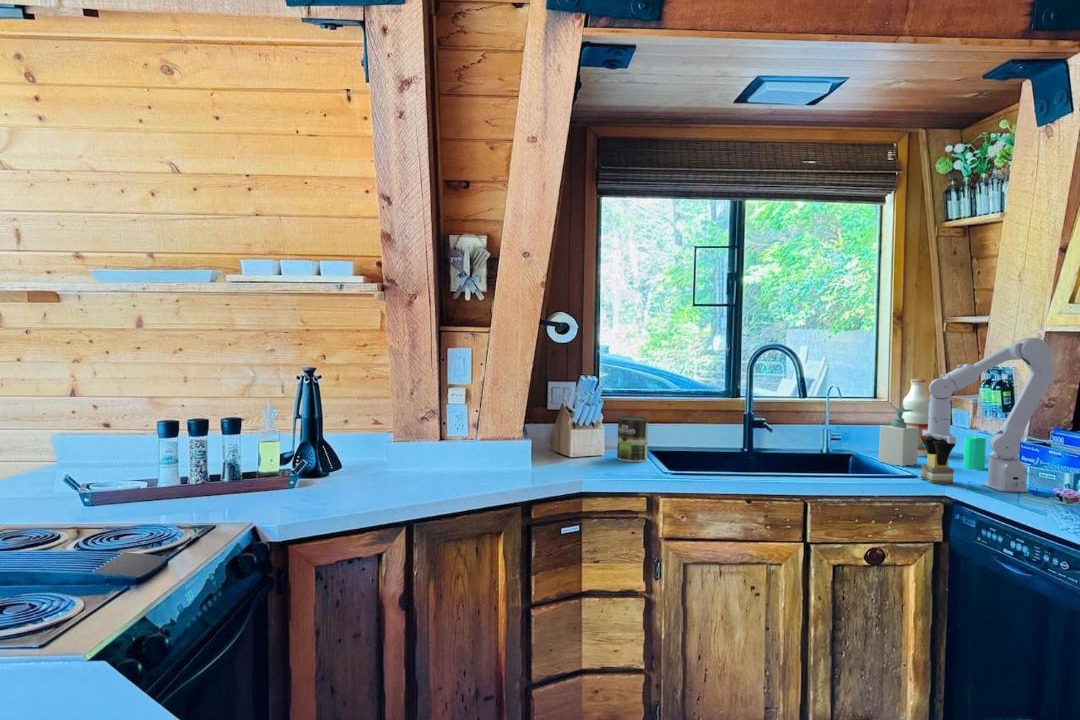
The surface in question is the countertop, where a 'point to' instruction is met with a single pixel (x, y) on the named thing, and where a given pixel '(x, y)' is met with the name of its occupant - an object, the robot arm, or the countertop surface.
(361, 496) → the countertop surface
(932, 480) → the tower base
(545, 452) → the countertop surface
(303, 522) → the countertop surface
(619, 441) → the coffee can
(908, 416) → the fruit juice
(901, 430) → the soap bottle
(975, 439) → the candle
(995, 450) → the robot arm
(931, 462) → the ochre block
